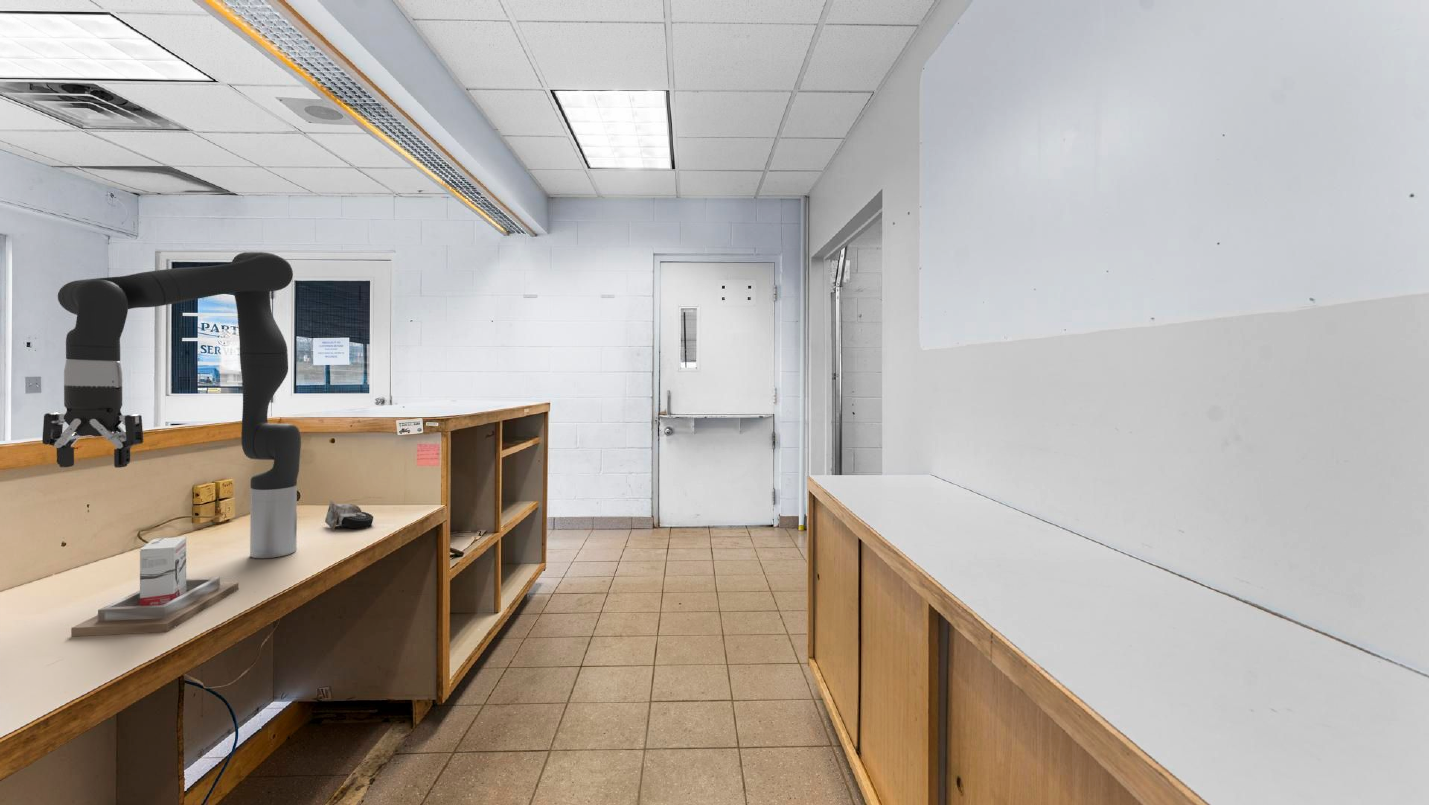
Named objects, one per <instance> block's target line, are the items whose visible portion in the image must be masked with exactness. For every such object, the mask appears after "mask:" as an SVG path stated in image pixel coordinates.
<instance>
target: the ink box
mask: <svg viewBox="0 0 1429 805" xmlns="http://www.w3.org/2000/svg"><path fill="white" fill-rule="evenodd" d="M186 579H187V536H181V537H180V536H179V537H160V538H159V537H157V538H153V539H151V540H150V541H148V542H147V543H146V544H145V545H143V546H141V548H140V549H139V590H140V606H156V605H164V604H166V603H168V602H169V601H171V600H173V599H175V598H177V597H179V596H181V595H183V594H185V593H186Z"/></svg>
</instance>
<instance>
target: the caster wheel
mask: <svg viewBox="0 0 1429 805" xmlns="http://www.w3.org/2000/svg"><path fill="white" fill-rule="evenodd" d="M374 519H375V518H374V516H373V514H371V513H368V512H367V511H366V512H365V511H363V510H362V509H361V507H359V506H358V505H356V504H353V503H352V504H351V503H350V504H349V503H347V504H337V503H336V504H335V503H334V501H330V503H329V506H328V509H327V513H326V517H325V520H324V522H325V523H326V525H327V526H329V527H330V529H332V530H333V531H334V530H335V529H336V526H341V527H343V526H344V527H347V528H350V529H359V530H360V529H367V527H368V528H370V527H371V526H372V524H373V522H374Z"/></svg>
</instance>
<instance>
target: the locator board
mask: <svg viewBox="0 0 1429 805" xmlns="http://www.w3.org/2000/svg"><path fill="white" fill-rule="evenodd" d="M239 583H240V582H239V581H238V582H221V578H220V577H203V578H202V577H201V578H186V593H185V594H183V595H181V596H179V597H177V598H175V599H173V600H171V601H169V602H168V603H166V604H164V605H156V606H140V589H139V590H138V591H136V592H134V593H131V594H128V595H126V596H124V597H123V598H121V599H118V600H116V601H114V602H112V603H110V604H108V605H105V606H104V607H101V608H99V609H98V610H97V615H94V616H92V617H91V618H89V619H86V620H85V621H82V622H81V623H78V624H76V625H74V626H72V627H71V628H70V632H71V633H70V635H71V637H85V636H86V637H87V636H88V637H89V636H107V635H126V634H127V635H128V634H147V633H148V632H152V633H169V631H171V630H172V629H174V628H176V627H178V626H179V625H181V624H183V623H184V622H186V621H188V620H189V618H190V619H192V618H193V617H194V615H195V616H197V614H200V613H201V612H203V611H205V610H207V609H208V608H210V607H212V606H213V605H215V604H216V603H218V602H220V601H222V600H223V599H225V598H227V597H228V596H230V595H231V594H233V593H235V592H236V591H238V590H239V585H240V584H239ZM234 591H235V592H234ZM204 609H205V610H204ZM199 612H200V613H199ZM175 626H176V627H175ZM148 634H149V633H148Z"/></svg>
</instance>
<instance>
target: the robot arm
mask: <svg viewBox="0 0 1429 805" xmlns="http://www.w3.org/2000/svg"><path fill="white" fill-rule="evenodd" d="M293 277H294V271H293V267H292V266H291V264H290V263H289V262H288V260H286V259H285V258H284V257H283V256H280V255H279V254H276V253H272V252H266V251H265V252H264V251H259V252H257V251H256V252H255V251H244V252H242V253H241V252H240V253H239V254H237V255H236V256H235V257H234V258H232V259H231V262H230V263H227V264H226V263H225V264H220V265H218V264H217V265H211V266H207V265H206V266H193V267H190V266H189V267H176V268H166V269H159V270H158V269H157V270H150V271H143V272H137V273H133V274H127V275H122V276H109V277H97V278H87V279H78V280H73V281H69V282H68V283H66V284H64V285H62V287H60V288H59V291H58V293H57V301H58V303H59V305H60V306H61V307H62V308H63V309H64V310H66V311H67V312H69V313H71V314H72V315H76V321H75V326H74V327H73V329H71V330H69V331H68V332H67V334H66V337H65V338H66V339H65V365H64V370H63V406H64V408H66V412H65V413H63V412H49V413H44V415H43V425H42V440H41V442H42V444H44V445H50V446H52V447H55V448H56V463H57V465H59V467H60V468H70V467H73V466H75V446H73V445H74V444H76V442H77V441H78V440H79V439H81V438H83V437H89V436H90V437H91V436H93V437H104V439H105V440H106V441H110V443H111V444H113V446H114V447H115V448H114V449H113V457H114V458H113V461H114V462H113V466H114V468H118V469H119V468H124V467H127V466H128V465H129V464H130V462H131V448H132V447H133V446H137V445H141V444H143V443H144V431H143V430H144V429H143V419H142V415H141V414H139V413H138V414H137V413H135V414H126V415H124V414H122V411H121V409H122V406H123V370H122V364H121V336H122V334H123V332H124V329H125V324H126V321H127V317H128V310H131V309H139V308H141V309H142V308H143V309H144V308H155V307H162V306H168V305H173V304H179V303H183V302H189V301H193V300H199V299H205V298H208V297H214V296H219V295H225V294H234V300H235V306H236V311H237V312H236V313H237V314H236V315H237V326H238V338H239V339H238V340H239V361H240V362H239V363H240V371H241V387H242V412H241V413H242V416H241V417H242V418H241V436H240V437H241V438H240V439H241V448H242V451H243V454H244V455H245V456H246V458H249V459H250V460H260V461H261V460H262V461H263V460H265V461H269V460H271V461H272V460H273V463H272V464H273V465H272V468H271V469H269V470H267V471H265V472H262V473H257V474H255V475H253V476H252V477H251V478H250V512H249V514H250V522H249V523H250V526H249V527H250V529H249V532H250V534H249V537H250V538H249V542H250V543H249V546H250V547H249V550H250V551H249V557H251V558H254V559H272V558H279V557H283V556H287V555H291V554H293V553H295V552H296V551H297V543H298V542H297V541H298V540H297V539H298V536H297V534H298V533H297V530H298V528H297V527H298V525H297V524H298V521H297V520H298V519H297V518H298V513H297V507H298V504H297V503H298V502H297V501H298V497H297V495H298V493H297V492H298V491H297V490H298V486H297V485H298V482H297V481H298V477H299V473H300V459H301V451H302V450H301V449H302V447H301V446H302V436H301V432H300V430H299V428H298V427H297V426H296V425H295V424H292V423H271V422H270V423H269V422H268V412H269V406H270V403H271V401H272V398H273V396H274V395H275V393H276V392H277V391H278V389H279V388H280V387H281V386H282V384H283V382H284V381H285V379H286V377H287V376H288V372H289V357H288V356H289V354H288V346H287V343H286V339H285V338H284V335H283V333H282V331H281V329H280V328H279V326H278V323H277V322H276V319H275V318H274V316H273V315H274V314H273V311H272V308H271V307H272V306H271V292H277V291H280V290H283V289H285V288H286V287H288V286H289V285H290V284H291V282H292V280H293ZM65 423H66V424H67V426H68V427H66V428H65V430H63V428H64V424H65ZM121 424H123V426H124V427H125V430H123V429H122V428H121V426H120V425H121Z"/></svg>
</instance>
